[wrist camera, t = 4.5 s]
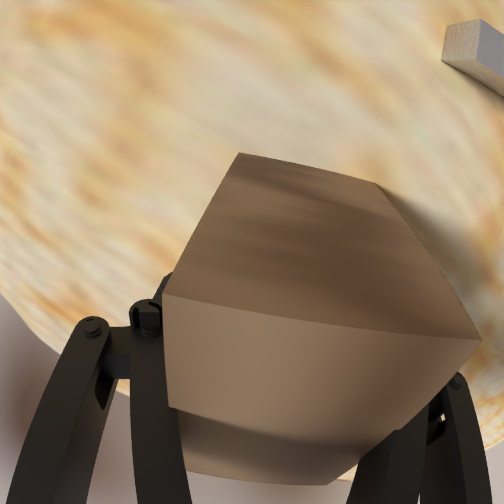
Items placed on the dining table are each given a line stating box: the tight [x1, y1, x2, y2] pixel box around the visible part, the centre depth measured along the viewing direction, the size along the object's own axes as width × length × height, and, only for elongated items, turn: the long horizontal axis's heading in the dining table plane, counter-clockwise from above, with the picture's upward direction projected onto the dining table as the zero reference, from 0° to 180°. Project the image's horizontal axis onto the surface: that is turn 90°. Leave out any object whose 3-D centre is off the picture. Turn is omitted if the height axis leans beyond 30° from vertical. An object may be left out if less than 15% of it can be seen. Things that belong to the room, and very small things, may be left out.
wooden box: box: [162, 153, 482, 485], centre depth 12 cm, size 6×11×10 cm, turn 170°
